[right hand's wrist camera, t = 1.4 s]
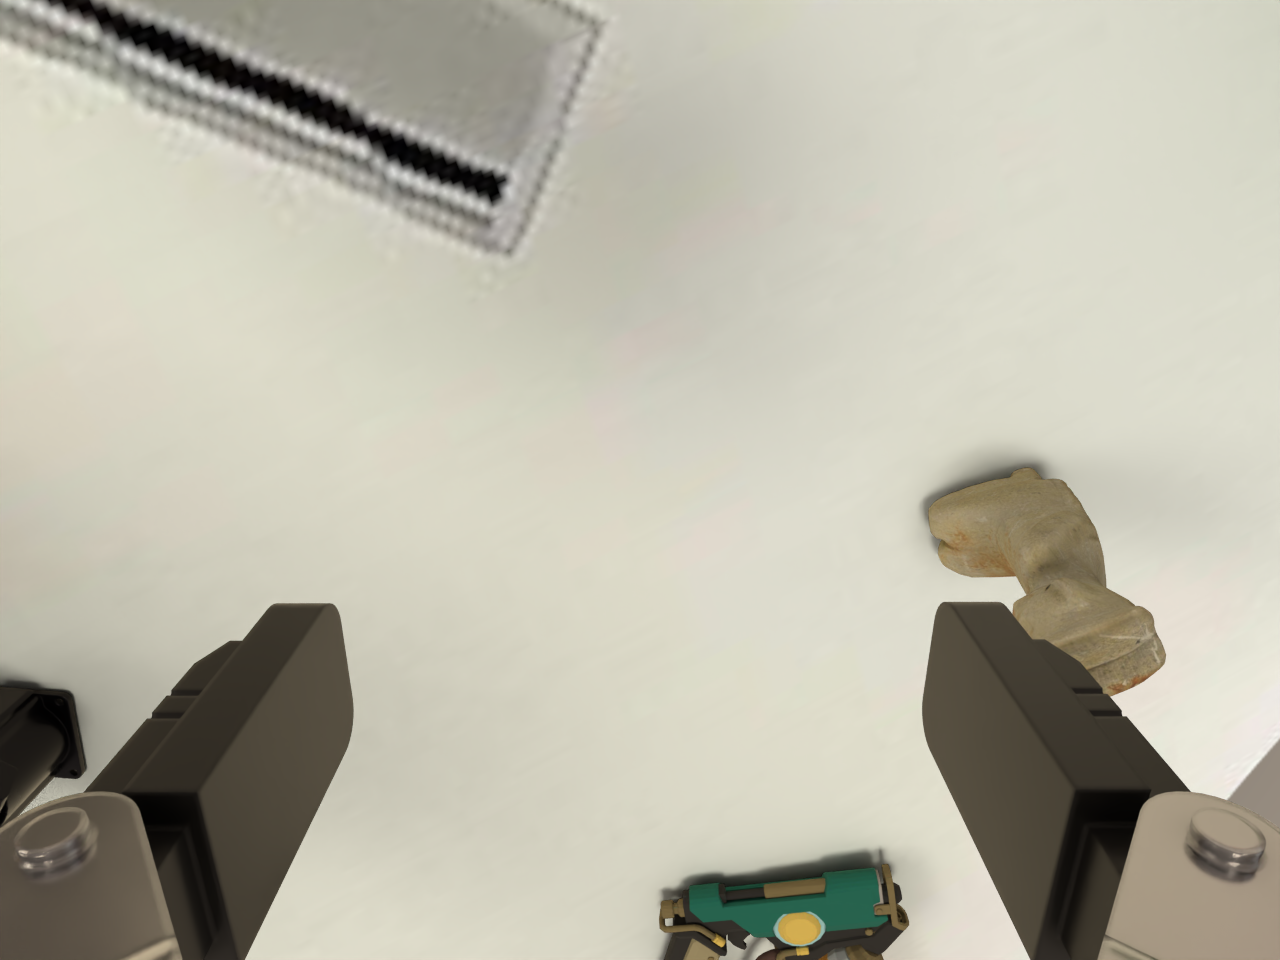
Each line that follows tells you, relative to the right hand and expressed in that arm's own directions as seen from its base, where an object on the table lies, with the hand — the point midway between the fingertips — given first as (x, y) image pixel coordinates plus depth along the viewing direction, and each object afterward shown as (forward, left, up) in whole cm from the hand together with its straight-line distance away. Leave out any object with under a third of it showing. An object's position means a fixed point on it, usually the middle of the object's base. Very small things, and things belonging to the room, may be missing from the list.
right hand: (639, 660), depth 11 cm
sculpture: (+21, +10, -35) cm, 42 cm away
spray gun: (+43, -16, -35) cm, 58 cm away
